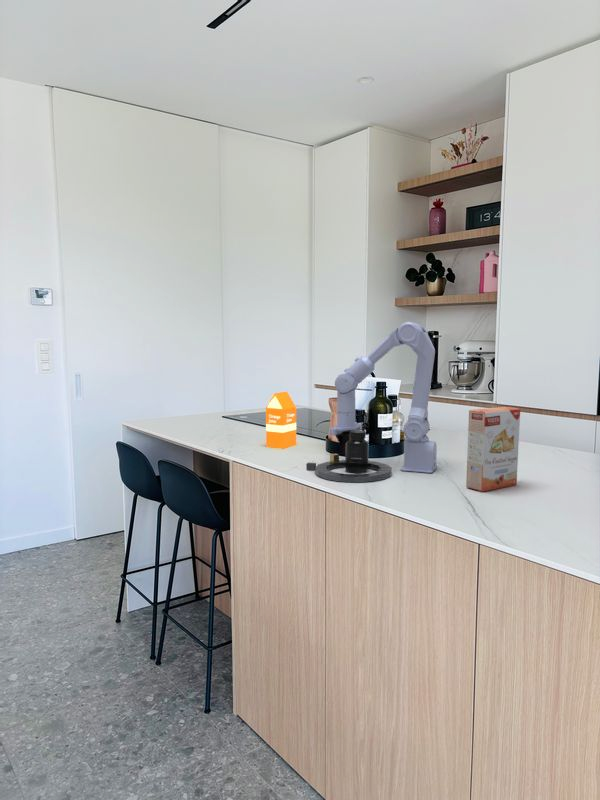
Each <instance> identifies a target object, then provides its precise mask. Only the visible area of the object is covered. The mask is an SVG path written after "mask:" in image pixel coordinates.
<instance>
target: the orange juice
mask: <svg viewBox="0 0 600 800" xmlns="http://www.w3.org/2000/svg"><path fill="white" fill-rule="evenodd" d="M265 431H266V432H265V434H266V435H265V438H266V439H265V441H266V444H265V447H266V446H268V447H267V448H269V447H274V448H273V449H277V448H281V449H280V450H285V448H286V449H288V447H289V448H292V447H291V446H293V447H295V445H296V446H297V406H296V405H295V403H294V401H293V399H292V397H291V396H290V393H289V392H288V391H281V392H275V393H273V395H272V396H271V398H270V400H269V401H268V403H267V405H266V407H265Z"/></svg>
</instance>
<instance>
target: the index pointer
mask: <svg viewBox="0 0 600 800" xmlns="http://www.w3.org/2000/svg"><path fill="white" fill-rule="evenodd" d="M316 466H317V463H316V462H310V461H308V462H307V463H306V466H305V467H306V471H314V472H315V467H316Z"/></svg>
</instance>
